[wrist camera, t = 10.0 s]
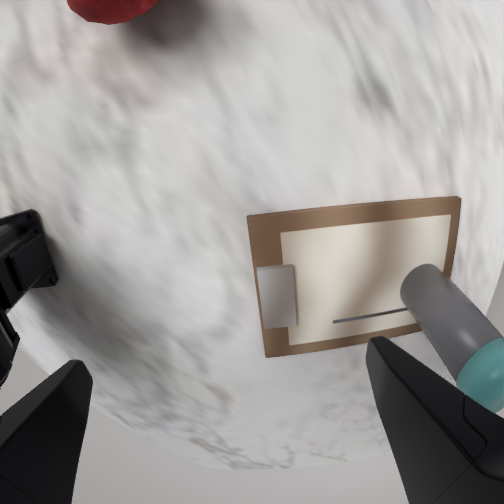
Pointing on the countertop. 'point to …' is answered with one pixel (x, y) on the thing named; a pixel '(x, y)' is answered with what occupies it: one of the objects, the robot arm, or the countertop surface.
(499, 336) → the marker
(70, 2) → the red rounded piece
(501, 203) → the countertop surface
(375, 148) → the countertop surface
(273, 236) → the clipboard
